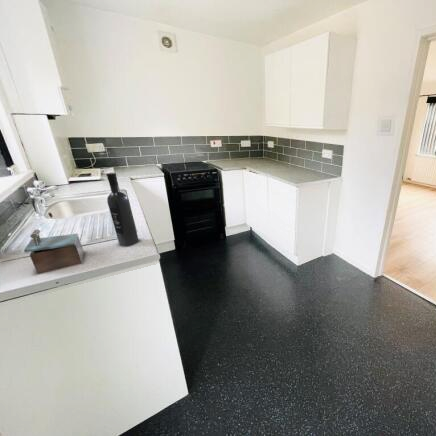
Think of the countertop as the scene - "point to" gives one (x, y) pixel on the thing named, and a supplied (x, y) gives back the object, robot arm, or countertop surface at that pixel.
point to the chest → (57, 257)
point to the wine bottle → (121, 214)
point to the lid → (49, 241)
